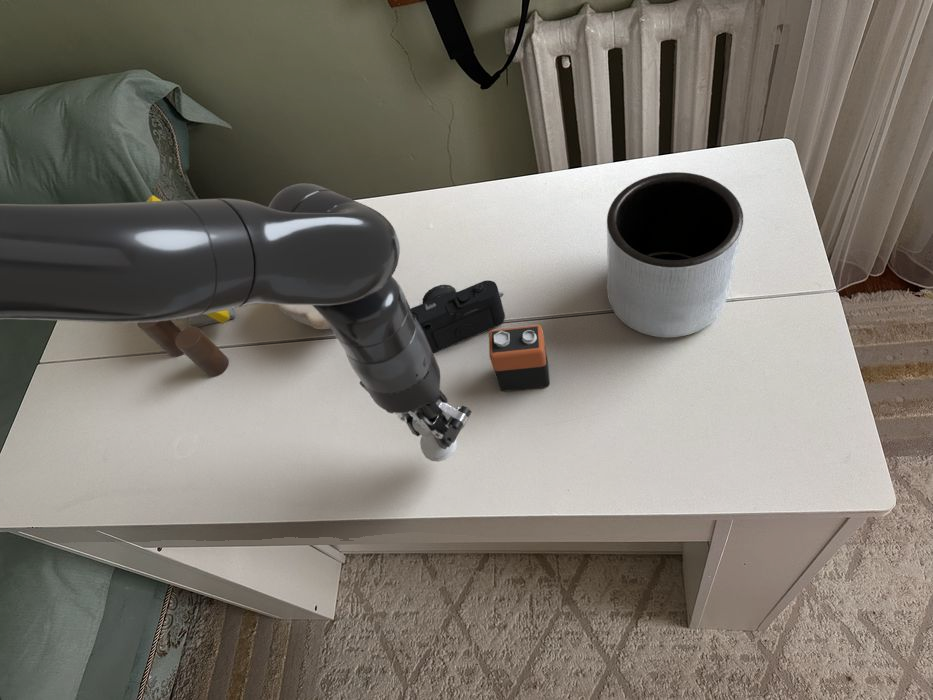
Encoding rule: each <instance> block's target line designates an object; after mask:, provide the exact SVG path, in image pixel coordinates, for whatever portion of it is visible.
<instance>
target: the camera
mask: <svg viewBox="0 0 933 700" xmlns="http://www.w3.org/2000/svg"><path fill="white" fill-rule="evenodd" d="M503 296H504V293H503V291H499V287H498V285H497V283H496V282H495V281H494V280H490V279H489V280H488V279H487V280H483V281H480V282H478V283H475V284H473V285H471V286H468V287H466V288H464V289H461V290H459V291H457V289H456V288H455V287H453V286H452V285H451V284H439V285H437V286H434V287H432V288H430V289H429V290H428V291H427V292H425V293H424V296H423V297H422V301H421V303H420V304H419V305H415V306H412V307H410V308H411V311H412V313H413V315H414V317H415V318H416V320H417V321H418V323H419V324H420V326H421V327H422V329H423V331H424V333H425V336H426V338H427V340H428V343H429V345H430V347H431V350H432V352H433V354H434V353H437V352H439V351H441V350H444V349H447V348H449V347H452V346H454V345H457V344H458V343H461V342H464V341H466V340H468V339H471V338H473V337H475V336H478V335H480V334H482V333H484V332H487V331H491V330H493V329H495V328H496V327H499V326H501V325H502V324H503V323H504V321H505V319H506V315H505V309H504V306H503V302H502V297H503Z"/></svg>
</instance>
